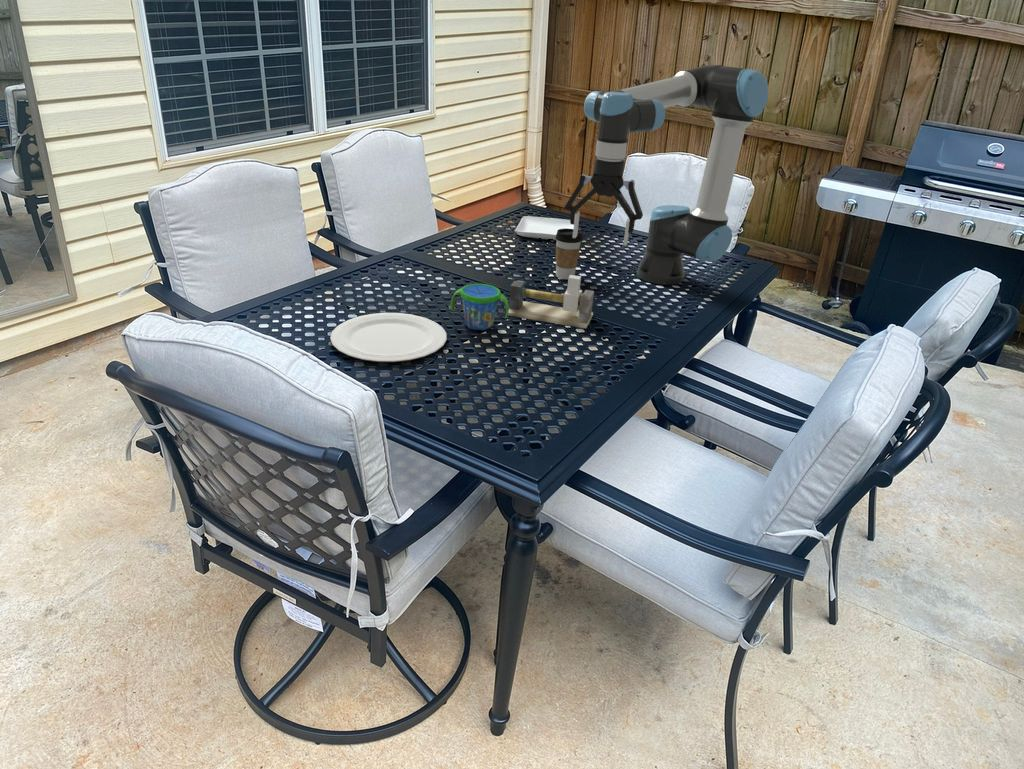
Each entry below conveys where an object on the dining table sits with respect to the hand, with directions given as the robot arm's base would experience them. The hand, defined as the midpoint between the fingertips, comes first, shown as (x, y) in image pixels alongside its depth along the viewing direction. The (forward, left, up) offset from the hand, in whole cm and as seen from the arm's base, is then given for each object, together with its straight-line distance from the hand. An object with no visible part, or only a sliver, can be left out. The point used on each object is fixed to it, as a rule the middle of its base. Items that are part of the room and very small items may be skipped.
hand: (599, 240), depth 196 cm
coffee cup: (+14, -32, -23) cm, 42 cm away
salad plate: (+31, -75, -24) cm, 85 cm away
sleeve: (+5, +1, -20) cm, 21 cm away
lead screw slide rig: (+11, +1, -23) cm, 26 cm away
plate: (+45, +34, -24) cm, 62 cm away
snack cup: (+27, +16, -23) cm, 40 cm away
